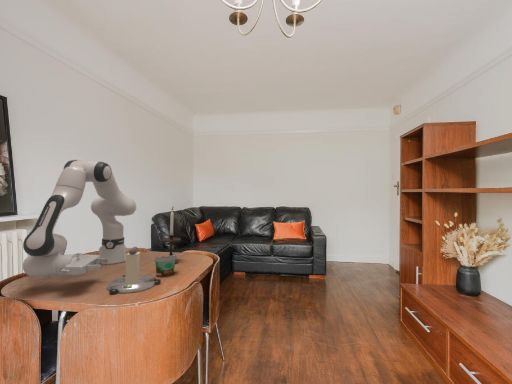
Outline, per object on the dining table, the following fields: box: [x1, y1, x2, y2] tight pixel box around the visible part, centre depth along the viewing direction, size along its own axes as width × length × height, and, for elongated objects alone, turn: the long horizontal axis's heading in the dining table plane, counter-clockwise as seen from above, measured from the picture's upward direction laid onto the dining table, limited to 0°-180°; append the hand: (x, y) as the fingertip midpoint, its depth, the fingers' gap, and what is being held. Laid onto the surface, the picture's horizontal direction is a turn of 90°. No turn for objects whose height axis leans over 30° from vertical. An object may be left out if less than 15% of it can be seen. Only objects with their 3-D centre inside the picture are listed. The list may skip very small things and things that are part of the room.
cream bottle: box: [125, 246, 142, 284], centre depth 118 cm, size 6×5×15 cm
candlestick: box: [161, 206, 181, 265], centre depth 158 cm, size 11×11×35 cm
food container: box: [153, 252, 178, 278], centre depth 133 cm, size 12×6×10 cm, turn 148°
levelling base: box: [107, 274, 162, 296], centre depth 118 cm, size 21×22×2 cm
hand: (104, 263), depth 115 cm, fingers open, 8 cm apart
